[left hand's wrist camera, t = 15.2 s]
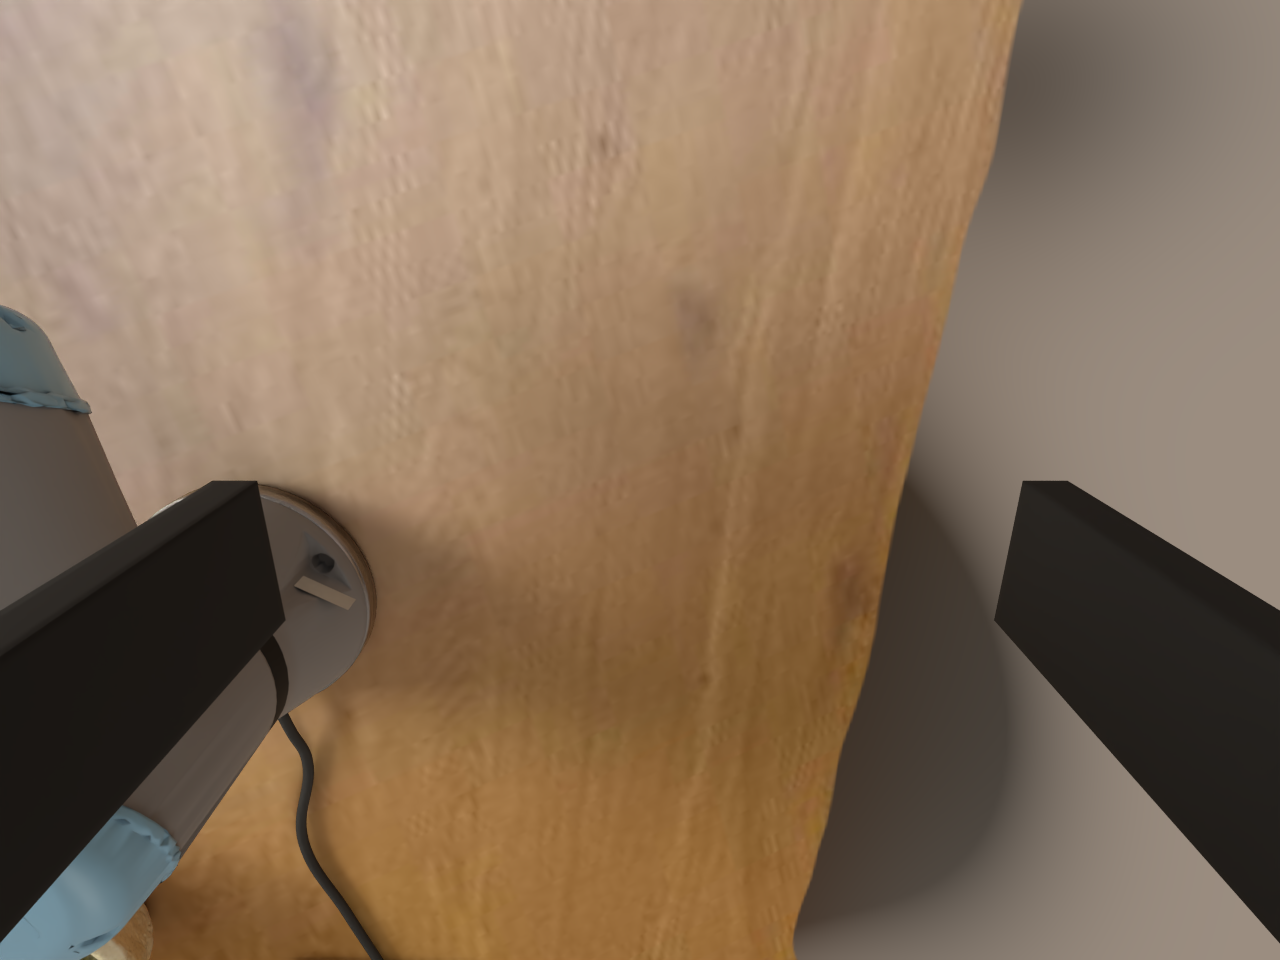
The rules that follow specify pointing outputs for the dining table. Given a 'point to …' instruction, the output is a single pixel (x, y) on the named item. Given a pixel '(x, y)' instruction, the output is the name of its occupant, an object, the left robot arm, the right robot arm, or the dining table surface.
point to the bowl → (129, 940)
